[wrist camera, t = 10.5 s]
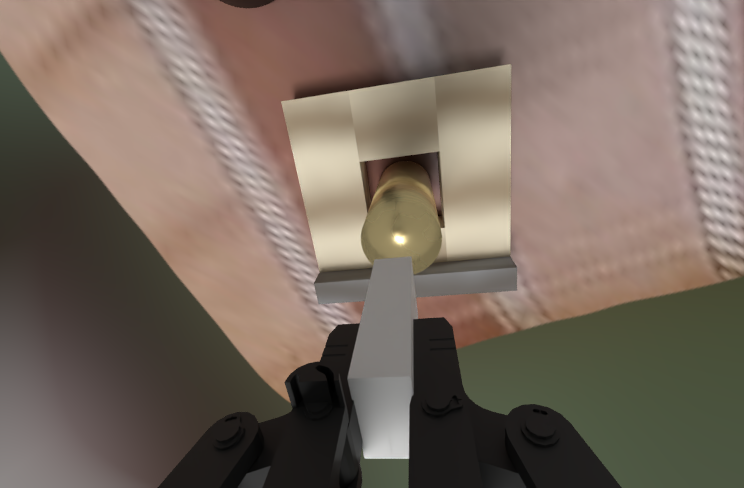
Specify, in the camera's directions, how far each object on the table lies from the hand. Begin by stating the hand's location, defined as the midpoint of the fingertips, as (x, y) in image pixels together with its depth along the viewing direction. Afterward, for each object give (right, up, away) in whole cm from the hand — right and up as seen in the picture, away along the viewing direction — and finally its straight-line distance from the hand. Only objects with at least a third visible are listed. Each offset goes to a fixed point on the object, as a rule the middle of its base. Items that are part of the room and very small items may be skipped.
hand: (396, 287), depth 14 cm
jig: (+2, +7, +15) cm, 17 cm away
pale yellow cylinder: (+2, +7, +15) cm, 17 cm away
